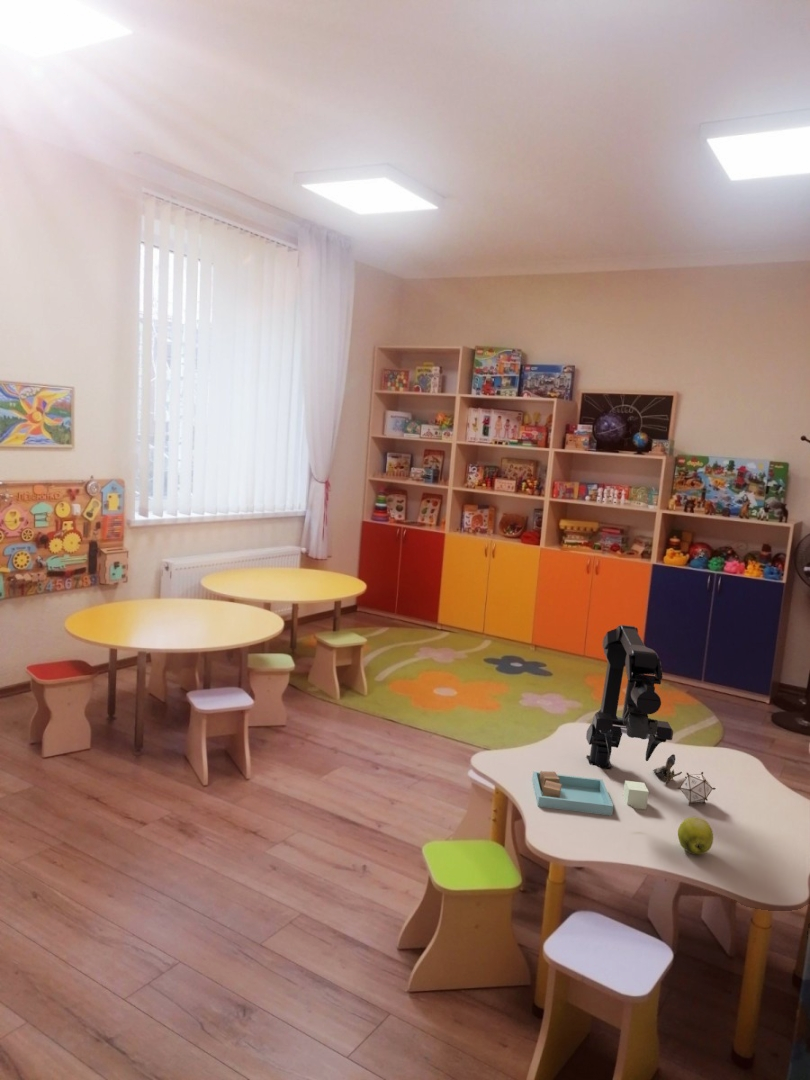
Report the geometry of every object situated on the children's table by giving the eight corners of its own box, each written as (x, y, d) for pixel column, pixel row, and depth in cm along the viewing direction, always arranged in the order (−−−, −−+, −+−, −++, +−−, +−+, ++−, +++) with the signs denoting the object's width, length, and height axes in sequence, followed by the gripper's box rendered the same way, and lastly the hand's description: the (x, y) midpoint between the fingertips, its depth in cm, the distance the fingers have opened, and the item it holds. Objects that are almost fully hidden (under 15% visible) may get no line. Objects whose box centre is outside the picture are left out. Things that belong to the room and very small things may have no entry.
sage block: (622, 798, 207) (625, 780, 207) (641, 800, 207) (644, 782, 206) (626, 807, 203) (629, 789, 202) (645, 809, 202) (648, 791, 202)
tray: (531, 782, 211) (533, 771, 211) (600, 790, 210) (602, 779, 210) (537, 808, 197) (539, 797, 196) (611, 817, 196) (613, 806, 196)
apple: (706, 844, 187) (711, 813, 186) (713, 865, 179) (719, 832, 177) (672, 838, 189) (678, 807, 188) (678, 858, 180) (683, 826, 179)
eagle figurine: (687, 783, 218) (680, 764, 226) (677, 763, 216) (670, 744, 224) (661, 792, 219) (655, 773, 228) (651, 773, 218) (645, 754, 226)
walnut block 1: (538, 785, 208) (540, 771, 208) (553, 785, 209) (555, 771, 208) (542, 792, 205) (544, 778, 204) (557, 793, 205) (559, 778, 204)
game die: (684, 815, 209) (665, 782, 209) (698, 796, 215) (680, 764, 215) (713, 813, 202) (693, 780, 202) (726, 793, 208) (707, 761, 208)
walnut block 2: (544, 794, 203) (546, 780, 203) (559, 798, 202) (561, 784, 202) (541, 801, 200) (543, 786, 199) (557, 805, 198) (559, 790, 198)
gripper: (602, 705, 189) (593, 765, 191) (682, 716, 186) (672, 777, 189) (597, 689, 200) (589, 747, 202) (672, 700, 197) (663, 758, 200)
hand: (627, 757), depth 198 cm, fingers open, 9 cm apart
